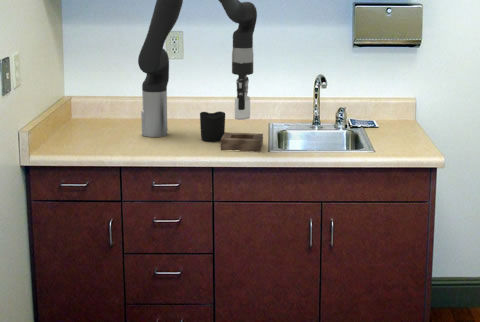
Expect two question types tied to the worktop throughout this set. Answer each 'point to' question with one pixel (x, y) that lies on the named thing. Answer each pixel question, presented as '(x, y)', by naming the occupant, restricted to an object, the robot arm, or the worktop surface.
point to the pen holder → (212, 126)
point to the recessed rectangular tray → (242, 141)
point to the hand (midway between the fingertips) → (242, 108)
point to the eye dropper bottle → (242, 113)
